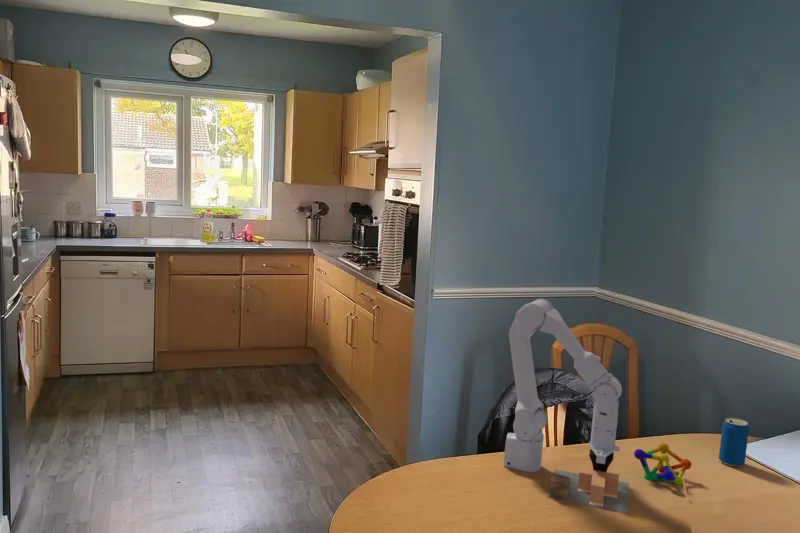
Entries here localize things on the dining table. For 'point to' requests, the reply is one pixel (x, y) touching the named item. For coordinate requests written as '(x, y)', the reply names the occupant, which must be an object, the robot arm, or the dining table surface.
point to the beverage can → (733, 442)
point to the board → (583, 495)
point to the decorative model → (662, 464)
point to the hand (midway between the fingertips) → (598, 480)
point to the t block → (598, 483)
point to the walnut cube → (559, 486)
